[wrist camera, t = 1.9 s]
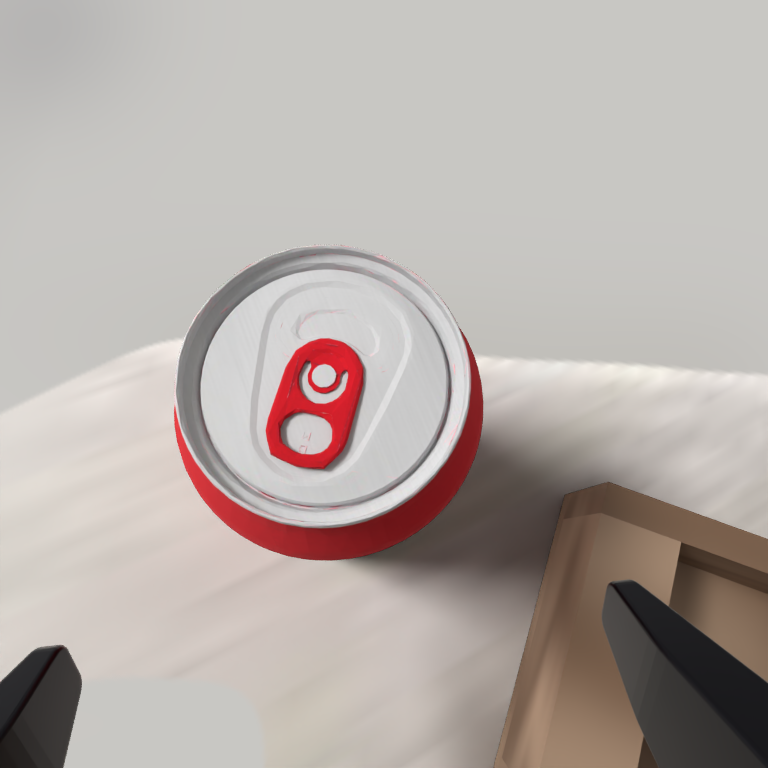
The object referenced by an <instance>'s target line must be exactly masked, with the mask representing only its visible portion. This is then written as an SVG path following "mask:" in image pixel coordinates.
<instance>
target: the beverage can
mask: <svg viewBox="0 0 768 768" xmlns="http://www.w3.org/2000/svg"><path fill="white" fill-rule="evenodd" d="M174 421H175V431H176V437H177V443H178V446H179V449H180V453H181V456H182V459H183V462H184V465H185V468H186V471H187V473H188V475H189V476H190V478H191V480H192V482H193V484H194V486H195V488H196V489H197V491H198V493H199V494H200V496H201V497H202V498H203V500H204V501H205V503H206V504H207V505H208V506H209V507H210V508H211V510H212V511H213V512H214V513H215V514H216V515H217V516H218V517H219V518H220V519H221V520H222V521H223V522H224V523H225V524H226V525H227V526H229V527H230V528H232V529H233V530H234V531H236V532H237V533H238V534H240V535H241V536H243V537H245V538H246V539H248V540H250V541H251V542H253V543H255V544H257V545H259V546H261V547H263V548H266V549H268V550H271V551H273V552H277V553H280V554H283V555H286V556H290V557H296V558H301V559H309V560H342V559H351V558H356V557H361V556H366V555H369V554H372V553H376V552H379V551H382V550H384V549H387V548H389V547H391V546H393V545H395V544H397V543H399V542H401V541H403V540H405V539H407V538H408V537H410V536H412V535H413V534H415V533H416V532H418V531H419V530H421V529H422V528H423V527H425V526H426V525H427V524H428V523H429V522H431V521H432V520H433V519H434V518H435V517H436V516H437V515H438V514H439V513H440V512H441V511H442V510H443V509H444V508H445V507H446V505H447V504H448V503H449V502H450V501H451V499H452V498H453V497H454V496H455V494H456V493H457V491H458V490H459V488H460V486H461V485H462V483H463V482H464V480H465V478H466V476H467V474H468V472H469V470H470V468H471V466H472V463H473V461H474V458H475V455H476V452H477V449H478V445H479V440H480V436H481V430H482V422H483V395H482V385H481V379H480V375H479V371H478V367H477V363H476V360H475V357H474V354H473V352H472V350H471V348H470V346H469V343H468V341H467V339H466V337H465V336H464V334H463V332H462V331H461V329H460V328H459V326H458V324H457V322H456V320H455V318H454V316H453V315H452V313H451V312H450V310H449V308H448V307H447V306H446V304H445V303H444V301H443V300H442V299H441V297H440V296H439V295H438V294H437V293H436V292H435V291H434V290H433V289H432V288H431V287H430V286H429V285H428V283H426V281H425V280H423V279H422V278H421V277H419V276H418V275H416V274H415V273H414V272H412V271H411V270H410V269H408V268H407V267H405V266H403V265H401V264H399V263H398V262H396V261H394V260H392V259H390V258H388V257H385V256H383V255H380V254H378V253H375V252H372V251H368V250H364V249H359V248H354V247H348V246H342V245H311V246H304V247H297V248H291V249H288V250H285V251H282V252H278V253H275V254H272V255H269V256H267V257H265V258H263V259H261V260H258V261H256V262H254V263H252V264H250V265H249V266H247V267H245V268H244V269H242V270H241V271H239V272H237V273H236V274H234V275H233V276H232V277H231V278H230V279H228V280H227V281H226V282H225V283H224V284H223V285H221V286H220V287H219V288H218V289H217V290H216V291H215V292H214V293H213V294H212V296H211V297H210V298H209V299H208V300H207V301H206V302H205V304H204V305H203V306H202V308H201V309H200V311H199V312H198V314H197V315H196V317H195V318H194V320H193V322H192V324H191V326H190V328H189V330H188V332H187V334H186V336H185V338H184V340H183V343H182V347H181V350H180V354H179V357H178V360H177V367H176V373H175V407H174Z"/></svg>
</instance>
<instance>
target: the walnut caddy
mask: <svg viewBox="0 0 768 768" xmlns="http://www.w3.org/2000/svg"><path fill="white" fill-rule="evenodd" d="M627 579H630V580H634V581H636V582H638V583H639V584H640V585H642V586H643V587H644V588H646V589H647V590H648V591H650V592H651V593H652V594H653V595H655V596H656V597H657V598H659V599H660V600H661V601H663V602H664V603H665V604H667V605H668V606H669V607H670V608H672V609H673V610H674V611H676V612H677V613H678V614H680V615H681V616H682V617H683V618H685V619H686V620H687V621H689V622H690V623H691V624H693V625H694V626H695V627H696V628H698V629H699V630H700V631H702V632H703V633H704V634H706V635H707V636H708V637H710V638H711V639H712V640H713V641H715V642H716V643H717V644H719V645H720V646H721V647H723V648H724V649H725V650H726V651H728V652H729V653H730V654H732V655H733V656H734V657H736V658H737V659H738V660H739V661H741V662H742V663H743V664H745V665H746V666H747V667H749V668H750V669H751V670H753V671H754V672H755V673H756V674H758V675H759V676H760V677H762V678H763V679H764V680H766V681H767V682H768V539H766V538H763V537H761V536H758V535H755V534H752V533H749V532H747V531H744V530H741V529H738V528H735V527H733V526H730V525H727V524H724V523H721V522H719V521H716V520H713V519H710V518H708V517H705V516H702V515H699V514H696V513H694V512H691V511H688V510H685V509H682V508H680V507H677V506H674V505H671V504H669V503H666V502H663V501H660V500H657V499H655V498H652V497H649V496H646V495H643V494H641V493H638V492H635V491H632V490H629V489H627V488H624V487H621V486H618V485H616V484H613V483H610V482H607V483H603V484H600V485H596V486H593V487H590V488H586V489H583V490H579V491H576V492H573V493H569V494H566V495H565V496H564V500H563V504H562V507H561V511H560V515H559V519H558V523H557V526H556V530H555V534H554V538H553V542H552V546H551V549H550V553H549V557H548V561H547V565H546V568H545V572H544V576H543V580H542V584H541V588H540V591H539V595H538V599H537V603H536V607H535V611H534V614H533V618H532V622H531V626H530V630H529V633H528V637H527V641H526V645H525V649H524V653H523V656H522V660H521V664H520V668H519V672H518V675H517V679H516V683H515V687H514V691H513V695H512V698H511V702H510V706H509V710H508V714H507V717H506V721H505V725H504V729H503V733H502V737H501V740H500V744H499V748H498V752H497V756H496V759H495V763H494V767H493V768H659V767H658V765H657V763H656V761H655V759H654V756H653V754H652V752H651V750H650V748H649V746H648V744H647V742H646V740H645V737H644V735H643V733H642V731H641V728H640V726H639V724H638V722H637V719H636V717H635V714H634V712H633V709H632V706H631V704H630V701H629V698H628V695H627V692H626V690H625V687H624V684H623V681H622V678H621V676H620V673H619V670H618V667H617V664H616V662H615V659H614V656H613V653H612V650H611V648H610V645H609V642H608V639H607V636H606V634H605V631H604V628H603V624H602V609H603V603H604V598H605V593H606V588H607V585H608V584H609V583H610V582H612V581H619V580H627Z"/></svg>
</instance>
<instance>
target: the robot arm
mask: <svg viewBox="0 0 768 768" xmlns="http://www.w3.org/2000/svg"><path fill="white" fill-rule="evenodd" d="M602 624H603V628H604V631H605V634H606V636H607V639H608V642H609V645H610V648H611V650H612V653H613V656H614V659H615V662H616V664H617V667H618V670H619V673H620V676H621V678H622V681H623V684H624V687H625V690H626V692H627V695H628V698H629V701H630V704H631V706H632V709H633V712H634V714H635V717H636V719H637V722H638V724H639V726H640V728H641V731H642V733H643V735H644V737H645V740H646V742H647V744H648V746H649V748H650V750H651V752H652V754H653V756H654V759H655V761H656V763H657V765H658V767H659V768H768V682H767V681H766V680H764V679H763V678H762V677H760V676H759V675H758V674H756V673H755V672H754V671H753V670H751V669H750V668H749V667H747V666H746V665H745V664H743V663H742V662H741V661H739V660H738V659H737V658H736V657H734V656H733V655H732V654H730V653H729V652H728V651H726V650H725V649H724V648H723V647H721V646H720V645H719V644H717V643H716V642H715V641H713V640H712V639H711V638H710V637H708V636H707V635H706V634H704V633H703V632H702V631H700V630H699V629H698V628H696V627H695V626H694V625H693V624H691V623H690V622H689V621H687V620H686V619H685V618H683V617H682V616H681V615H680V614H678V613H677V612H676V611H674V610H673V609H672V608H670V607H669V606H668V605H667V604H665V603H664V602H663V601H661V600H660V599H659V598H657V597H656V596H655V595H653V594H652V593H651V592H650V591H648V590H647V589H646V588H644V587H643V586H642V585H640V584H639V583H638V582H636V581H634V580H630V579H627V580H619V581H612V582H610V583H609V584H608V585H607V588H606V593H605V598H604V603H603V609H602ZM81 688H82V679H81V675H80V673H79V671H78V669H77V667H76V665H75V663H74V661H73V659H72V657H71V655H70V653H69V651H68V649H67V648H66V647H65V646H63V645H54V646H45V647H40V648H37V649H35V650H34V651H32V652H31V653H30V654H29V655H28V656H27V657H26V658H25V659H24V660H23V661H21V662H20V663H19V664H18V665H17V666H16V667H15V668H14V669H13V670H12V671H11V672H10V673H9V674H8V675H7V676H6V677H5V678H4V679H3V680H2V681H1V682H0V768H63V767H64V763H65V758H66V754H67V750H68V745H69V741H70V737H71V732H72V728H73V723H74V719H75V715H76V711H77V706H78V702H79V698H80V694H81Z"/></svg>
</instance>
